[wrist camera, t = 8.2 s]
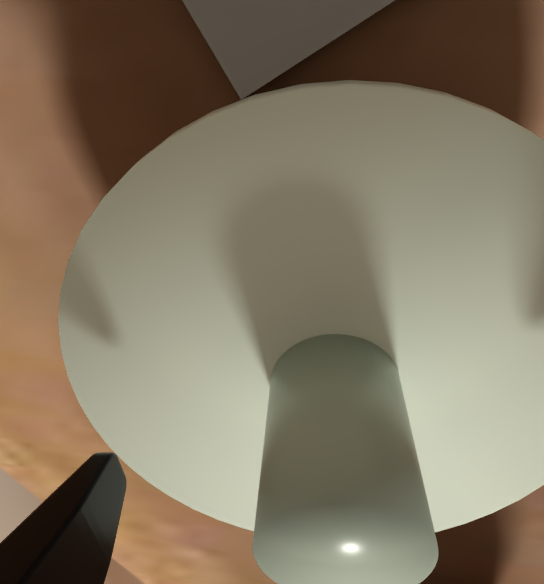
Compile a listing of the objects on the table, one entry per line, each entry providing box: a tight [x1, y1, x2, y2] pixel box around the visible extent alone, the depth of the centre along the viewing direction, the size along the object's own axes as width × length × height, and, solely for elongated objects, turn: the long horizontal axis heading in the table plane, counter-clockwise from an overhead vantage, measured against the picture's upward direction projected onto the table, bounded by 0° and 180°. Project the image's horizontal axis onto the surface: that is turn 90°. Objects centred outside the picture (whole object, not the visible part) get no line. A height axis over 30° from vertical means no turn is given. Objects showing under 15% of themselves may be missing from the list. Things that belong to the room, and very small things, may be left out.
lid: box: [58, 80, 544, 584], centre depth 10 cm, size 13×13×5 cm
